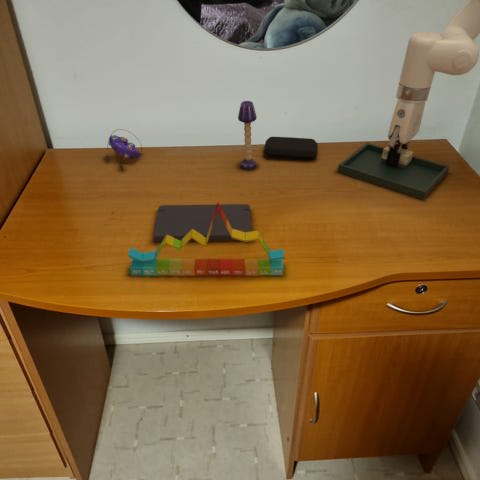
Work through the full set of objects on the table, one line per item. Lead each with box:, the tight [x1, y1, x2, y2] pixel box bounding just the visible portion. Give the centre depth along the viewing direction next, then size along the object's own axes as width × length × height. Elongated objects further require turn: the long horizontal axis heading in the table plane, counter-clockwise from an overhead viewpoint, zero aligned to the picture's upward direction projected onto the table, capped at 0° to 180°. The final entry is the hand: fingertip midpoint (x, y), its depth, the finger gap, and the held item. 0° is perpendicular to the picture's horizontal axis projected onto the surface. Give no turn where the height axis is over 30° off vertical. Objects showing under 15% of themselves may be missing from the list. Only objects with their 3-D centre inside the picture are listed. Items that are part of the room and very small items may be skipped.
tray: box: [337, 142, 450, 201], centre depth 126 cm, size 24×17×2 cm
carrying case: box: [263, 136, 319, 161], centre depth 135 cm, size 11×3×15 cm
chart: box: [127, 201, 285, 276], centre depth 92 cm, size 30×3×15 cm, turn 90°
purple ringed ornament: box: [105, 128, 143, 170], centre depth 131 cm, size 10×8×10 cm
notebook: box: [153, 203, 253, 243], centre depth 109 cm, size 13×2×21 cm
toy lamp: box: [237, 100, 258, 171], centre depth 124 cm, size 5×5×17 cm
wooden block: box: [381, 145, 414, 169], centre depth 128 cm, size 7×4×4 cm, turn 53°
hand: (394, 162), depth 130 cm, fingers closed on wooden block, 3 cm apart
